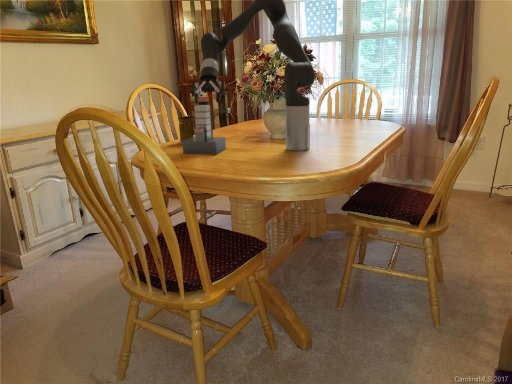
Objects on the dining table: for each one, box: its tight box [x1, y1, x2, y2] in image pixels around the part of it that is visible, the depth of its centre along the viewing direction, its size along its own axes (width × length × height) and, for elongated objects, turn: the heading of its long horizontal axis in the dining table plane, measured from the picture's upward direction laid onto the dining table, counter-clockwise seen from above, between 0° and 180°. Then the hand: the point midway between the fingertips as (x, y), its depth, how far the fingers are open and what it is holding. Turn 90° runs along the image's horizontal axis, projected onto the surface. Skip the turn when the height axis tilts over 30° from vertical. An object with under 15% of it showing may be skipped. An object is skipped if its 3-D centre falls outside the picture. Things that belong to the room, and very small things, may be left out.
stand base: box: [182, 127, 227, 156], centre depth 164 cm, size 14×11×10 cm
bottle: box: [198, 95, 214, 137], centre depth 189 cm, size 7×7×20 cm
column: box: [194, 104, 213, 140], centre depth 163 cm, size 5×5×13 cm
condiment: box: [178, 115, 194, 145], centre depth 186 cm, size 7×8×12 cm
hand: (206, 102), depth 169 cm, fingers open, 8 cm apart
